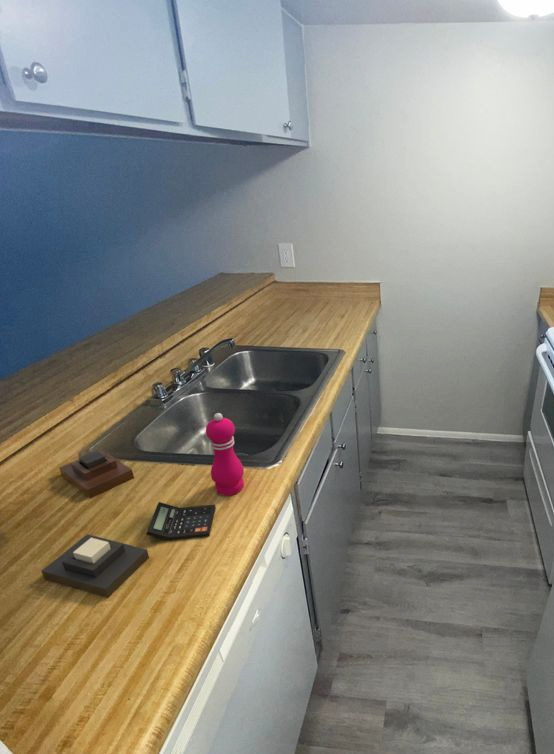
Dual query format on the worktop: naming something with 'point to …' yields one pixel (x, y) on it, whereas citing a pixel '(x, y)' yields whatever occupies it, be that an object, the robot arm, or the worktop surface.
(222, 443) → the pepper mill
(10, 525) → the worktop surface
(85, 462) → the far key
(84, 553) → the near key
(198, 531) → the calculator
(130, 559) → the key block
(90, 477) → the key block
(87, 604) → the worktop surface
